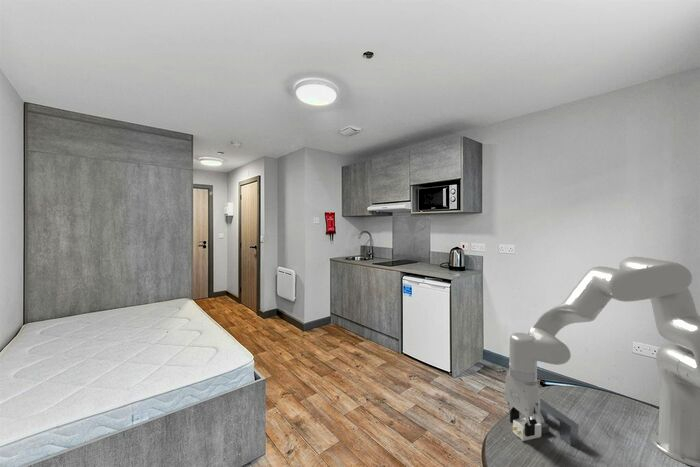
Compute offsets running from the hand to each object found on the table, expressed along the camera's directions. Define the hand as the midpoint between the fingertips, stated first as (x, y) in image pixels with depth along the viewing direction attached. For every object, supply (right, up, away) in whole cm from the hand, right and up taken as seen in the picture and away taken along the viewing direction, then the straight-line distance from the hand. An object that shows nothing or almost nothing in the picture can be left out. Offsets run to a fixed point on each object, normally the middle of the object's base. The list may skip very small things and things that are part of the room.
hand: (521, 428), depth 91 cm
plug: (+4, -2, +1) cm, 5 cm away
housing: (+12, -2, +3) cm, 13 cm away
